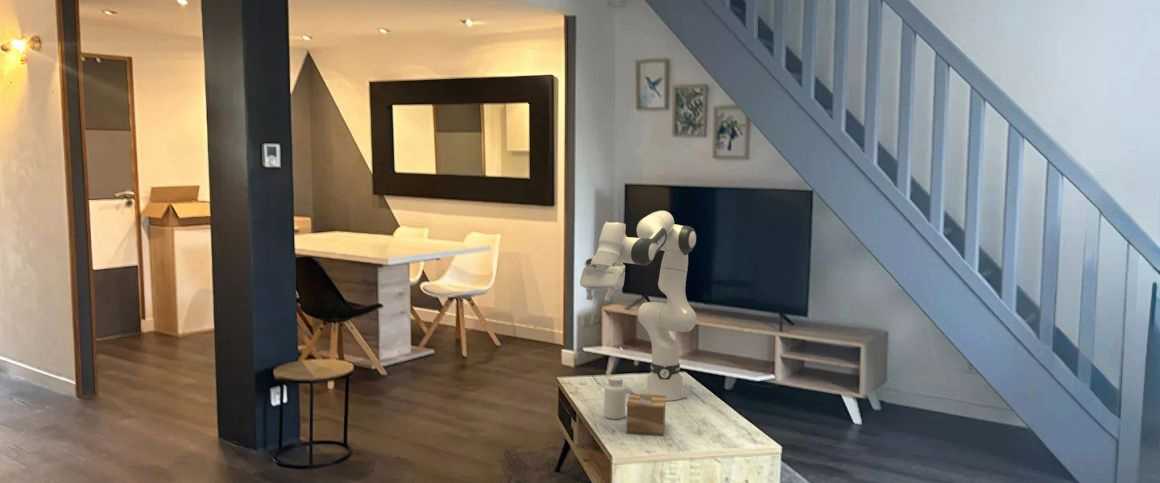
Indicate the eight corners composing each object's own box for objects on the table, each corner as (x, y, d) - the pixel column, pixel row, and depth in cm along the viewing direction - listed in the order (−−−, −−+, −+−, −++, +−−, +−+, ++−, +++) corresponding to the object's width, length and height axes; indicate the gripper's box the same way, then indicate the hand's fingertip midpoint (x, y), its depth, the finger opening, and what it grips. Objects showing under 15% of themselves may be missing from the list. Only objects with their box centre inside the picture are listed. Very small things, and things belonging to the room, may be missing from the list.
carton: (630, 422, 342) (630, 396, 341) (664, 424, 340) (665, 397, 339) (626, 433, 328) (627, 406, 327) (662, 435, 326) (663, 408, 325)
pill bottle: (623, 420, 344) (624, 381, 342) (602, 418, 346) (603, 380, 344) (626, 414, 352) (627, 376, 350) (605, 412, 353) (606, 374, 352)
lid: (630, 395, 341) (630, 384, 341) (666, 397, 339) (666, 386, 339) (626, 406, 327) (626, 394, 326) (664, 408, 325) (664, 396, 325)
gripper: (632, 265, 323) (623, 303, 319) (594, 266, 338) (585, 301, 335) (619, 260, 319) (610, 298, 316) (581, 260, 334) (573, 297, 331)
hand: (597, 300), depth 325 cm, fingers open, 8 cm apart
